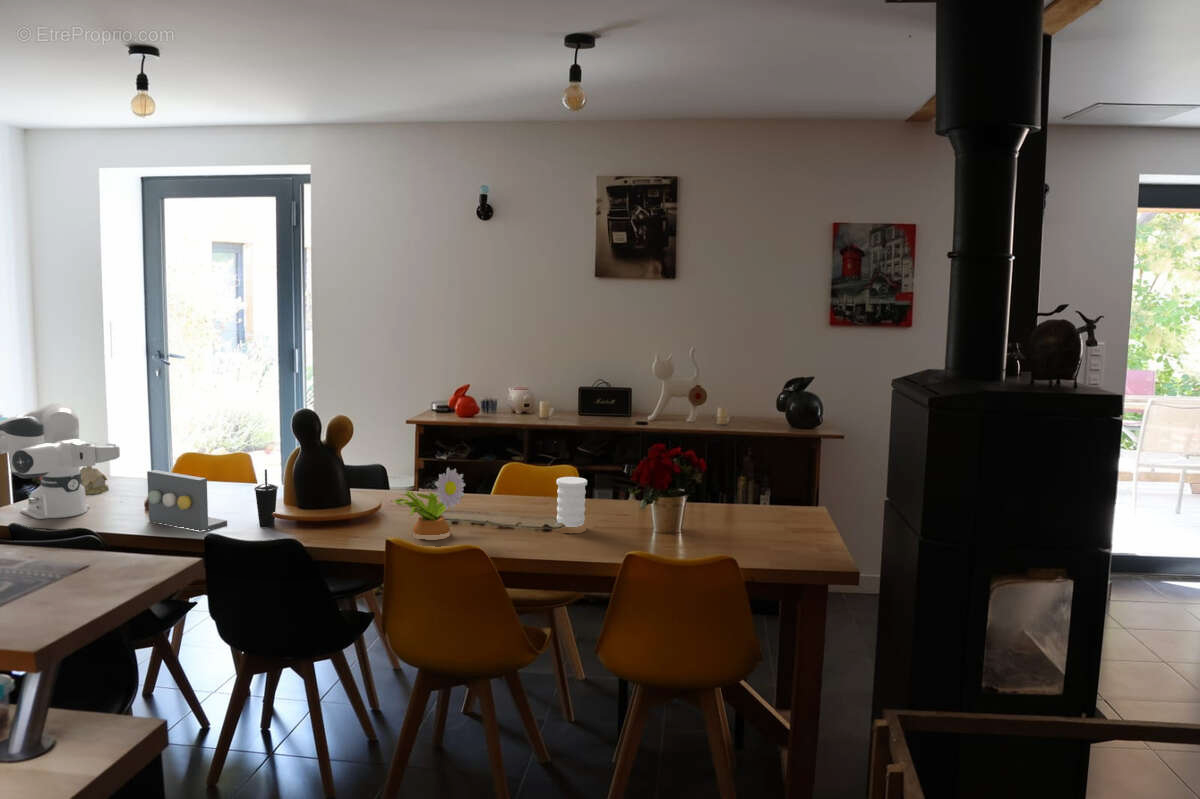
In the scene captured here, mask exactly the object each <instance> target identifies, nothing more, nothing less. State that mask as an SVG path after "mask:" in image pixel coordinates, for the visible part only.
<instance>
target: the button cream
mask: <svg viewBox="0 0 1200 799" xmlns="http://www.w3.org/2000/svg"><path fill="white" fill-rule="evenodd" d="M176 502H177V498H176V495H175V494H174V493H168V494H165V495H164V496H163V503H164V505H165V506H167V507H169V506H173V505H175V504H176Z"/></svg>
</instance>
